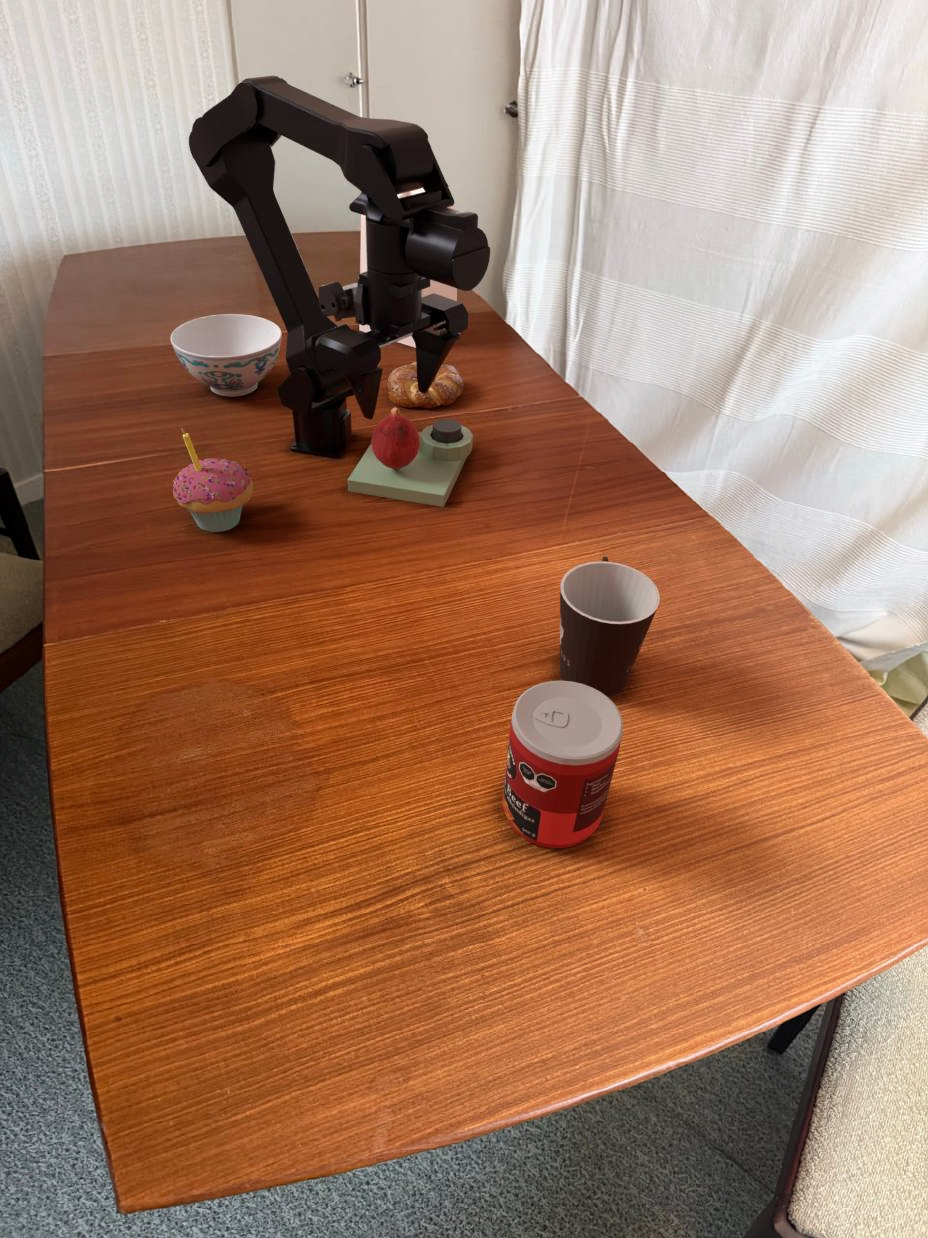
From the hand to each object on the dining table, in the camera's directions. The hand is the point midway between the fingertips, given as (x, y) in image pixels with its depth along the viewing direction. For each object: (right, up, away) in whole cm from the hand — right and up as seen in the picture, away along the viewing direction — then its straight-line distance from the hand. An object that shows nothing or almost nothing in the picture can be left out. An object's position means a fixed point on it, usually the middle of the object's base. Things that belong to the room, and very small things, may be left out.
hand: (396, 404), depth 96 cm
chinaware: (-26, +9, +25) cm, 37 cm away
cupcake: (-20, -14, -1) cm, 24 cm away
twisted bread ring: (+2, +8, +25) cm, 26 cm away
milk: (-1, +24, +43) cm, 50 cm away
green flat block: (+1, -6, +9) cm, 11 cm away
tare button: (+6, -2, +9) cm, 11 cm away
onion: (-1, -7, +6) cm, 9 cm away
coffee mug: (+21, -29, -17) cm, 40 cm away
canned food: (+15, -40, -30) cm, 52 cm away
